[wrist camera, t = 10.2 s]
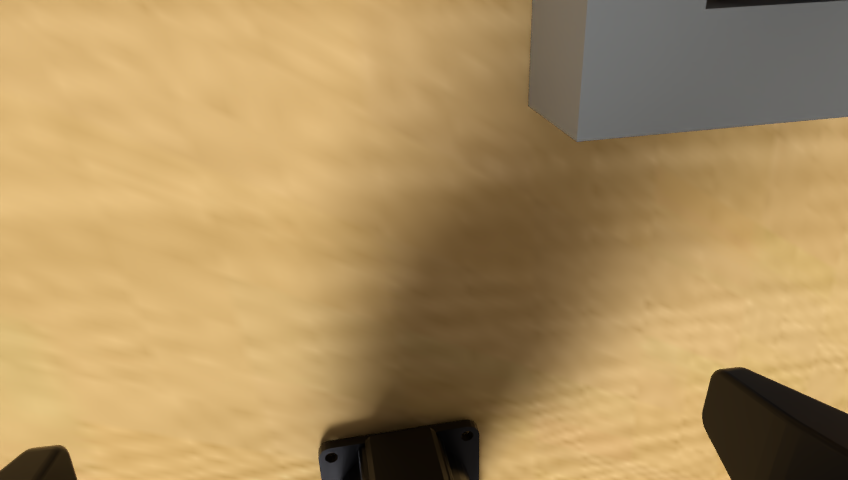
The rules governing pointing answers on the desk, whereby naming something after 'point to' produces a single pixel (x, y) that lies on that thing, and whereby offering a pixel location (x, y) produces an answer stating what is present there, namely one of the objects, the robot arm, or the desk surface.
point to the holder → (686, 64)
